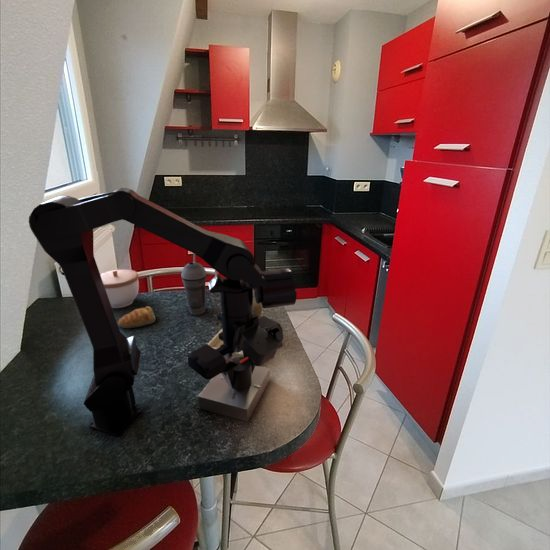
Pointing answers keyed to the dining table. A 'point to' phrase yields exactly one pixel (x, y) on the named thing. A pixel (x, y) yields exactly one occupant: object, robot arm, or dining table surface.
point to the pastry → (137, 318)
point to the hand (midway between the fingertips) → (240, 380)
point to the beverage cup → (194, 286)
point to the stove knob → (242, 373)
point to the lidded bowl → (121, 287)
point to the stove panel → (234, 395)
